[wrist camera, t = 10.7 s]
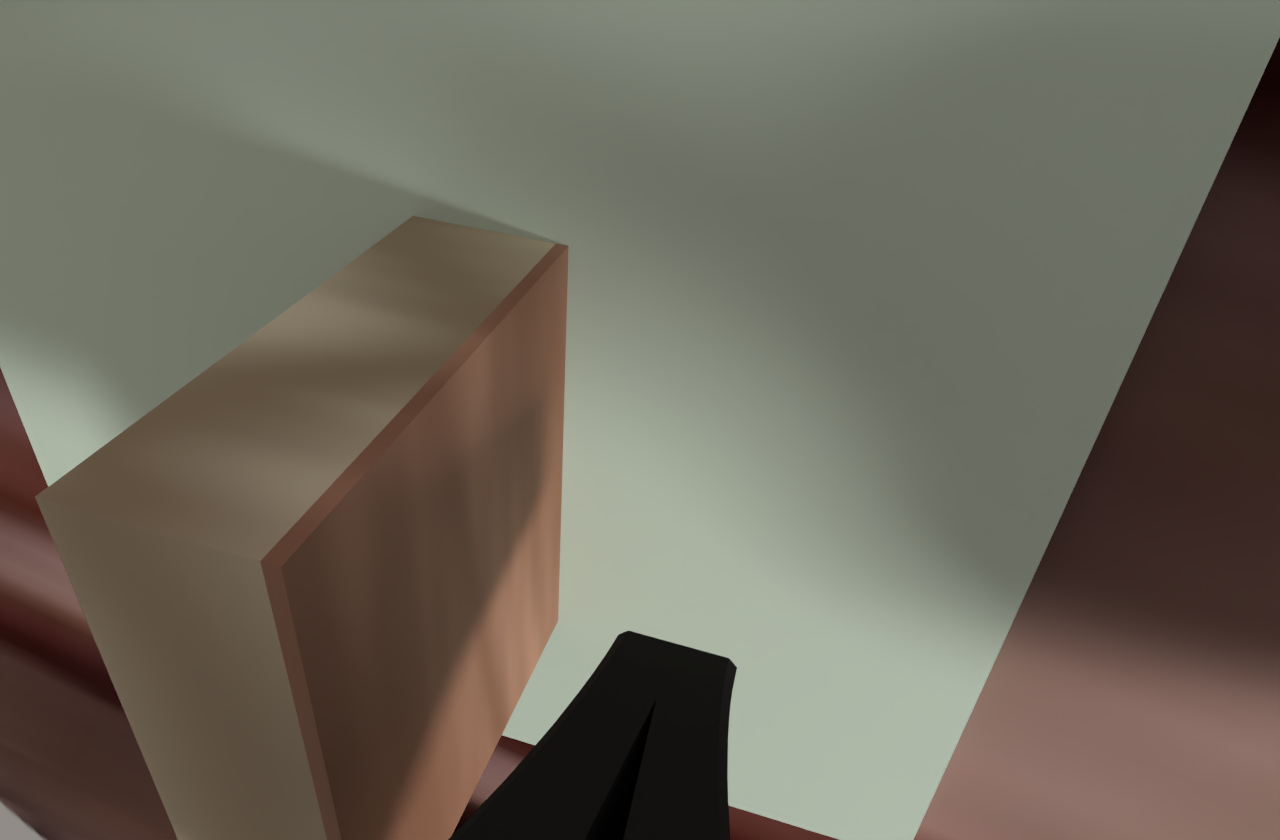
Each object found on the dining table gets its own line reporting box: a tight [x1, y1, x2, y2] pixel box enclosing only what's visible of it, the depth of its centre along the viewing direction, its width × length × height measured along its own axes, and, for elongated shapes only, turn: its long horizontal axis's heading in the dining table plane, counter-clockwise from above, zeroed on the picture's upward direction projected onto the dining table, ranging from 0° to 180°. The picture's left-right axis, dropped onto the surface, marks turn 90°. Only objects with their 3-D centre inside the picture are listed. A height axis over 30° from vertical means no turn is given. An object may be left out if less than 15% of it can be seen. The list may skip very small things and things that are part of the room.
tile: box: [35, 216, 569, 840], centre depth 13 cm, size 2×8×7 cm, turn 176°
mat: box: [0, 0, 1280, 840], centre depth 16 cm, size 20×18×1 cm
